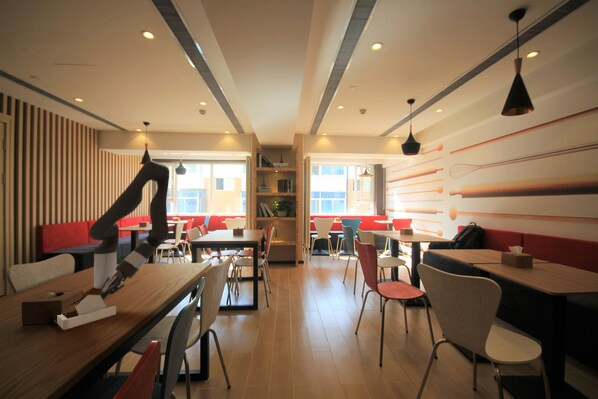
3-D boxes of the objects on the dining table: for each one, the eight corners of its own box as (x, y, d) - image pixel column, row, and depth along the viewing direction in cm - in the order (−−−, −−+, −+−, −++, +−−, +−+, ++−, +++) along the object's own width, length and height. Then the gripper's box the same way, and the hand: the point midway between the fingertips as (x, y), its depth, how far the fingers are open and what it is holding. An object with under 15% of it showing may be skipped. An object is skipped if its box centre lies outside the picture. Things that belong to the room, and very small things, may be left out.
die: (112, 313, 99) (106, 290, 102) (100, 312, 91) (94, 287, 95) (87, 325, 96) (82, 301, 99) (73, 325, 88) (68, 299, 92)
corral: (51, 317, 96) (51, 309, 96) (100, 304, 108) (100, 297, 108) (63, 330, 86) (63, 321, 86) (116, 314, 98) (116, 306, 98)
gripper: (118, 257, 112) (82, 293, 102) (131, 261, 104) (93, 301, 94) (132, 267, 116) (99, 303, 106) (145, 271, 108) (110, 310, 98)
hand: (96, 302), depth 100 cm, fingers closed
